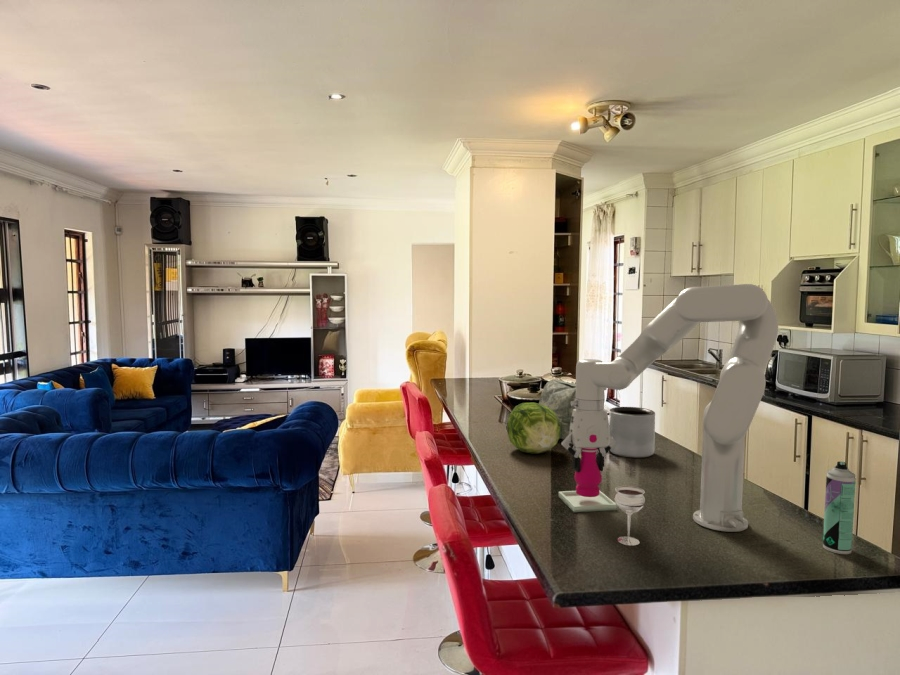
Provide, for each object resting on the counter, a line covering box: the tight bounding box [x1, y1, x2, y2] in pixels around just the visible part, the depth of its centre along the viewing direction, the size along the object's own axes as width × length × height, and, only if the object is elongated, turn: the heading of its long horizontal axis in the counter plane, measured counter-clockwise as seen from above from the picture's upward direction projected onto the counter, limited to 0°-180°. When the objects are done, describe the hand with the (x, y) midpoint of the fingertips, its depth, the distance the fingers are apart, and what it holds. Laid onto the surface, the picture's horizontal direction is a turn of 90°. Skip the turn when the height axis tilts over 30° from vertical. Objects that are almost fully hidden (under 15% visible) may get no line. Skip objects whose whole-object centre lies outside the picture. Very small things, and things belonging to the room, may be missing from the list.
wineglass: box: [614, 485, 646, 546], centre depth 137 cm, size 7×7×12 cm
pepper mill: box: [574, 435, 603, 497], centre depth 161 cm, size 7×7×20 cm
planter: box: [608, 406, 656, 459], centre depth 213 cm, size 16×16×16 cm
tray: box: [558, 489, 618, 513], centre depth 162 cm, size 12×12×2 cm
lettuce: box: [506, 401, 561, 454], centre depth 213 cm, size 19×23×18 cm
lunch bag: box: [538, 378, 576, 441], centre depth 240 cm, size 26×18×22 cm
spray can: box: [822, 460, 857, 555], centre depth 133 cm, size 6×6×20 cm
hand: (588, 469), depth 161 cm, fingers closed on pepper mill, 5 cm apart
